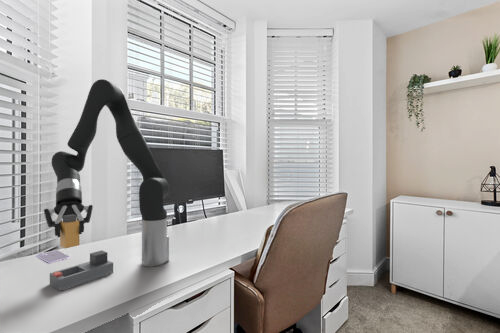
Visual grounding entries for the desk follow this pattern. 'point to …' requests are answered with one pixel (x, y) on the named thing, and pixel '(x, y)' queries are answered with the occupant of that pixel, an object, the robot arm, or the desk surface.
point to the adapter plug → (69, 231)
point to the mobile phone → (53, 256)
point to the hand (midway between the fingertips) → (69, 234)
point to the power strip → (82, 271)
